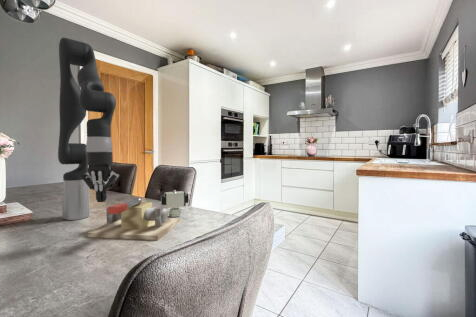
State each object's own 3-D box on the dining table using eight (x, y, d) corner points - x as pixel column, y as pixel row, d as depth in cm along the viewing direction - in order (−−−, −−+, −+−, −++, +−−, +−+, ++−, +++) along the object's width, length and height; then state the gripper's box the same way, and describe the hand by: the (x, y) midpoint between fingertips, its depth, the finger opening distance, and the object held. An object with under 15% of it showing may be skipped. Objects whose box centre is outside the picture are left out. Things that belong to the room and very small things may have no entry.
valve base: (87, 236, 83) (86, 208, 82) (122, 219, 102) (121, 196, 102) (158, 240, 79) (157, 210, 79) (180, 221, 99) (179, 198, 99)
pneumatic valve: (188, 216, 107) (188, 190, 107) (161, 219, 103) (161, 191, 102) (187, 213, 112) (186, 188, 112) (161, 215, 108) (160, 189, 108)
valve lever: (135, 202, 91) (135, 196, 91) (143, 202, 91) (143, 197, 90) (108, 213, 76) (108, 206, 76) (117, 213, 75) (117, 207, 75)
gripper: (72, 151, 77) (74, 204, 77) (110, 150, 75) (112, 204, 75) (90, 150, 84) (91, 199, 85) (124, 150, 82) (126, 199, 83)
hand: (101, 201), depth 80 cm, fingers closed
